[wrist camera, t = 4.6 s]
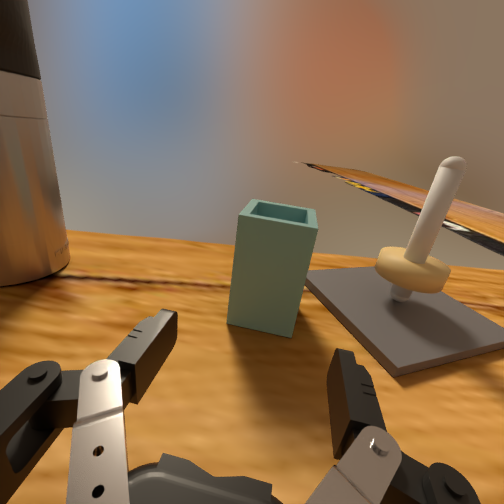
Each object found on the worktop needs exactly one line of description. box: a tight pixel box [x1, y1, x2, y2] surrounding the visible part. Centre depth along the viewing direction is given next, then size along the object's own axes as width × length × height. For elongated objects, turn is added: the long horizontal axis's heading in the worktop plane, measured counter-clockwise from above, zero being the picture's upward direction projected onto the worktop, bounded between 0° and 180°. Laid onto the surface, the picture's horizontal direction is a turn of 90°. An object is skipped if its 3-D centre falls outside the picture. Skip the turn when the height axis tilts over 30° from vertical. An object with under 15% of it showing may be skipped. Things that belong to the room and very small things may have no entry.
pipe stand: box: [305, 156, 504, 377], centre depth 26 cm, size 16×15×16 cm
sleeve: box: [227, 199, 318, 338], centre depth 24 cm, size 6×6×10 cm
